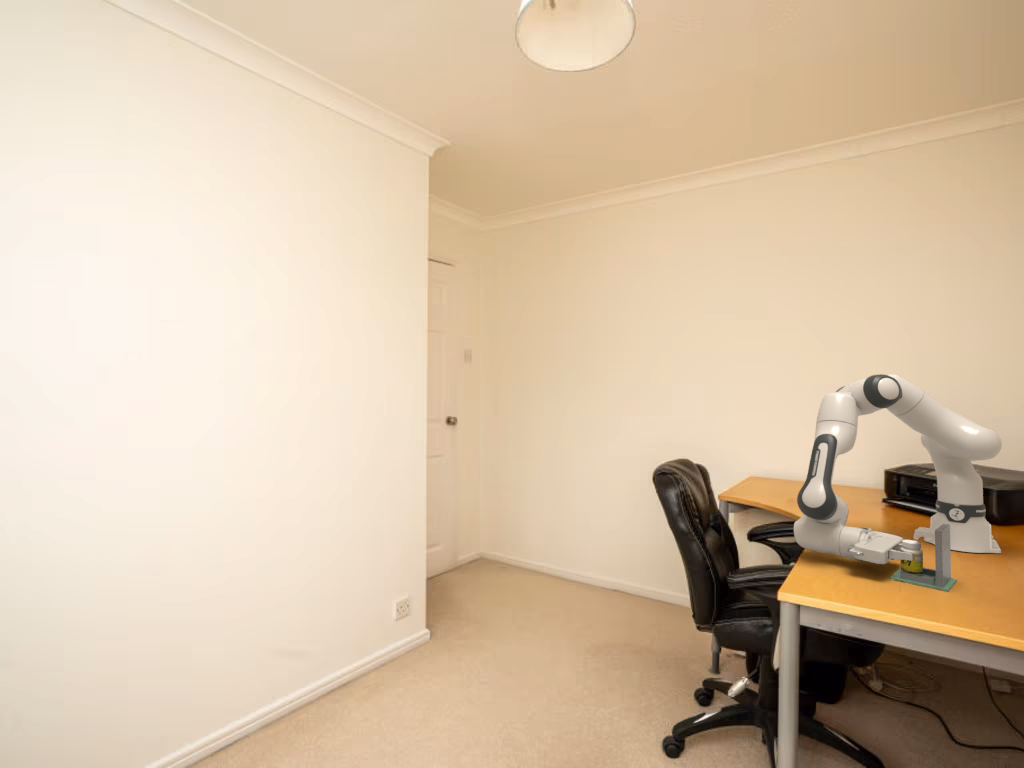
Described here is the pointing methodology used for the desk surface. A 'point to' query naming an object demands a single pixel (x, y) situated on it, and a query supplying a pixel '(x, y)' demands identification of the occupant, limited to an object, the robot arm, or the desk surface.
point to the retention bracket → (941, 557)
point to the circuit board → (945, 588)
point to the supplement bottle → (917, 563)
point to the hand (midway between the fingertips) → (915, 554)
